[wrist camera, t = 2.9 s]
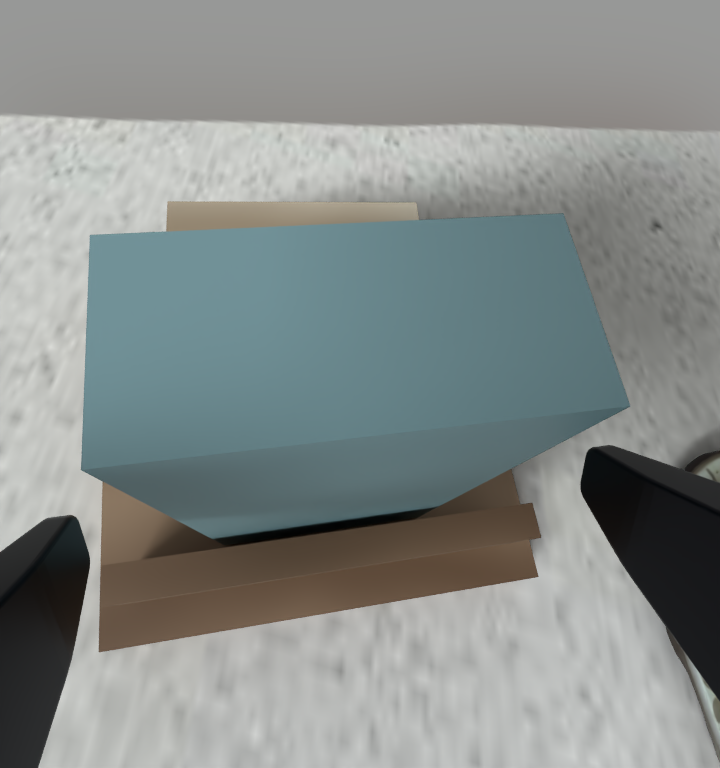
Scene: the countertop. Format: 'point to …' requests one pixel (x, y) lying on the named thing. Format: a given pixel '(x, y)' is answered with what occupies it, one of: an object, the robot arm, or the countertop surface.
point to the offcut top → (282, 214)
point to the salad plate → (715, 712)
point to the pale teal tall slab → (335, 367)
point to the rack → (299, 565)
